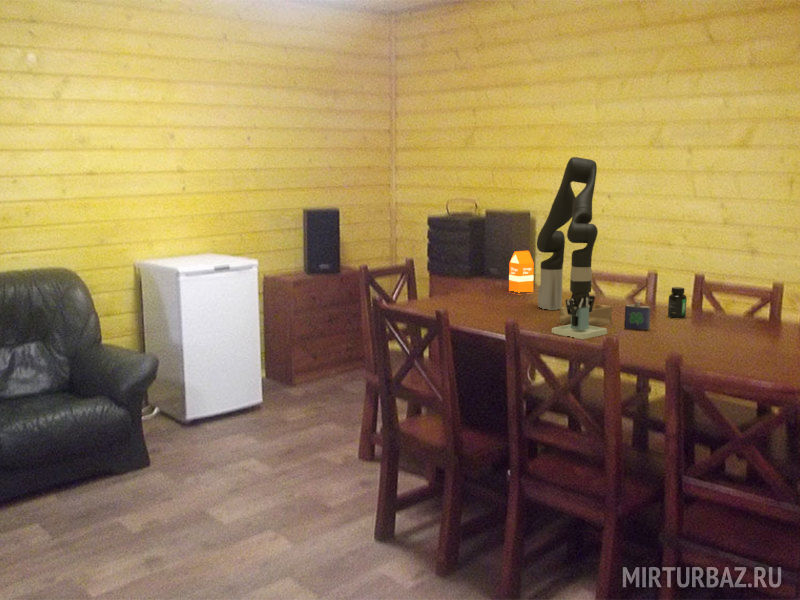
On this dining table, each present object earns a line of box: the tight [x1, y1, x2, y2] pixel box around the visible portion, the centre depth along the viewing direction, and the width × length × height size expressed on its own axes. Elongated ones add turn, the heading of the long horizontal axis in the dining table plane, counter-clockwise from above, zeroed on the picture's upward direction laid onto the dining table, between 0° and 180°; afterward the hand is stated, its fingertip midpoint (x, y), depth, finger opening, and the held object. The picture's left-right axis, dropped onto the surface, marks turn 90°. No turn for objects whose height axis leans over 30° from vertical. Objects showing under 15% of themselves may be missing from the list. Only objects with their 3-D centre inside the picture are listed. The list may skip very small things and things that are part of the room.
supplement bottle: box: [667, 286, 688, 319], centre depth 326 cm, size 7×7×12 cm
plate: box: [551, 324, 608, 340], centre depth 298 cm, size 14×14×2 cm
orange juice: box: [508, 250, 535, 293], centre depth 390 cm, size 8×9×20 cm
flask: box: [623, 301, 651, 332], centre depth 303 cm, size 9×3×11 cm, turn 63°
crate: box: [559, 303, 613, 327], centre depth 316 cm, size 13×16×6 cm
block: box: [571, 306, 589, 330], centre depth 297 cm, size 4×4×8 cm
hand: (579, 325), depth 297 cm, fingers closed on block, 4 cm apart
